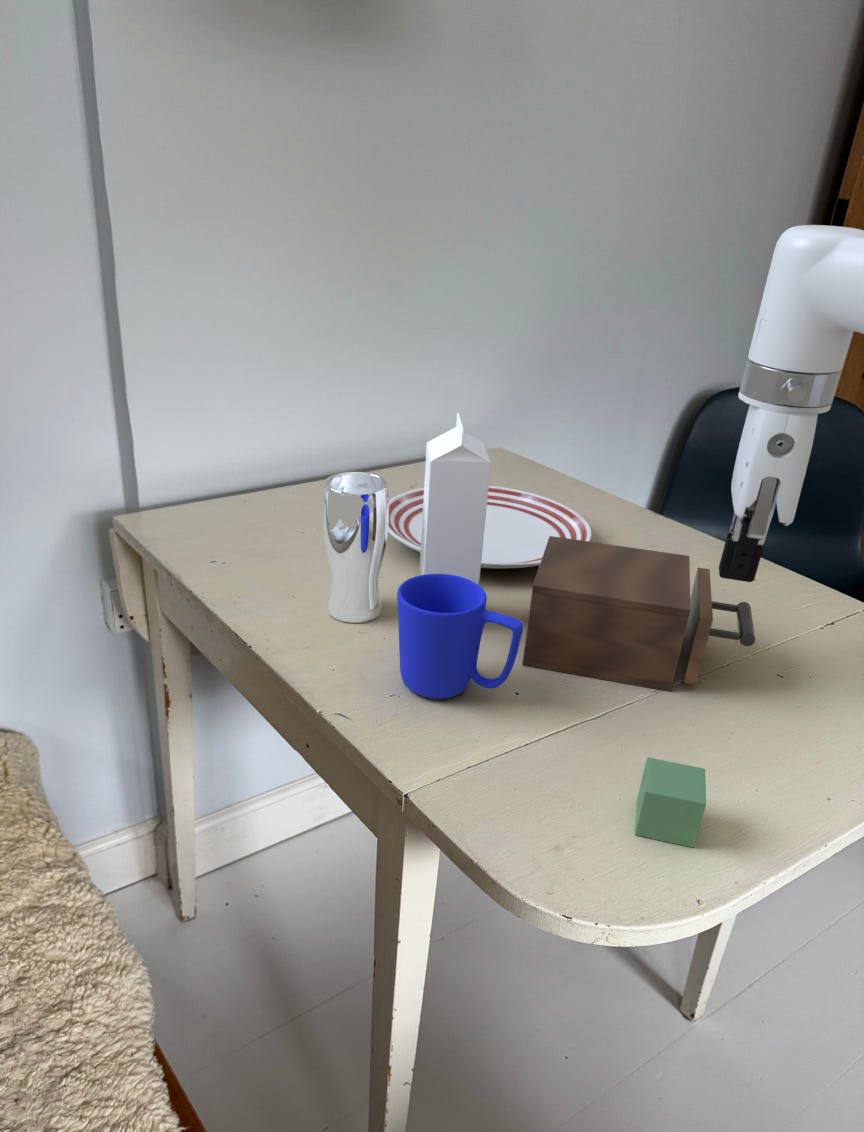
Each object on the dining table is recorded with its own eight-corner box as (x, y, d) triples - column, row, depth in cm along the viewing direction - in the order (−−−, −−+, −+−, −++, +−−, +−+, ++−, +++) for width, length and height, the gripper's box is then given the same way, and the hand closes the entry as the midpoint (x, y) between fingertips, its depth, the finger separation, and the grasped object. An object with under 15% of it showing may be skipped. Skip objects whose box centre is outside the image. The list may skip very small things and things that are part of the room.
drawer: (738, 637, 93) (755, 575, 89) (745, 693, 83) (764, 627, 80) (568, 609, 97) (578, 549, 93) (556, 660, 87) (566, 596, 84)
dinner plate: (487, 489, 131) (489, 467, 130) (632, 552, 113) (637, 529, 111) (338, 528, 116) (338, 505, 115) (477, 609, 98) (480, 583, 96)
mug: (494, 730, 78) (505, 635, 73) (377, 691, 83) (381, 599, 78) (527, 687, 85) (539, 596, 79) (416, 653, 89) (422, 565, 84)
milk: (419, 630, 94) (430, 429, 83) (417, 603, 99) (426, 411, 88) (476, 630, 94) (494, 430, 83) (470, 604, 99) (486, 412, 88)
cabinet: (672, 631, 95) (689, 555, 91) (670, 691, 85) (690, 610, 80) (539, 609, 99) (549, 535, 94) (522, 665, 88) (532, 585, 84)
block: (693, 811, 70) (705, 768, 68) (693, 848, 66) (706, 803, 64) (637, 799, 71) (647, 756, 69) (634, 835, 67) (645, 791, 65)
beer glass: (359, 631, 93) (362, 499, 85) (310, 611, 96) (308, 482, 89) (397, 608, 98) (403, 481, 90) (349, 589, 101) (351, 466, 94)
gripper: (849, 413, 67) (784, 618, 77) (823, 370, 80) (770, 551, 89) (747, 402, 69) (696, 604, 79) (737, 361, 82) (694, 540, 91)
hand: (735, 576), depth 84 cm, fingers closed
